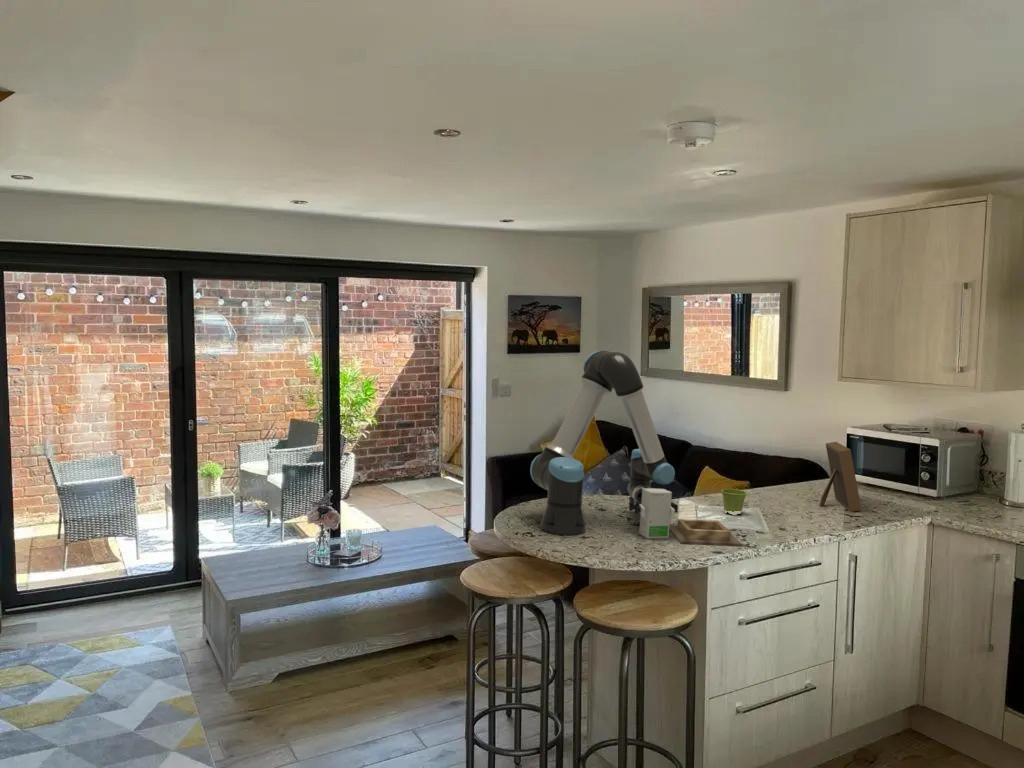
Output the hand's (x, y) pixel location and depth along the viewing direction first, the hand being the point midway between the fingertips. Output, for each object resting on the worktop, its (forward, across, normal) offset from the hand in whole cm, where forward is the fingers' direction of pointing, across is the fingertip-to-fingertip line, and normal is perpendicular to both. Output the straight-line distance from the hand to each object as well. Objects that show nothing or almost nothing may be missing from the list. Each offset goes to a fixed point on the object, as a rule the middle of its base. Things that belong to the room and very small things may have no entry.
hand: (658, 513), depth 246 cm
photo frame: (-63, -88, -9) cm, 109 cm away
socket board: (-7, -17, -9) cm, 20 cm away
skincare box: (-5, 0, -9) cm, 10 cm away
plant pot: (-40, -38, -9) cm, 56 cm away
